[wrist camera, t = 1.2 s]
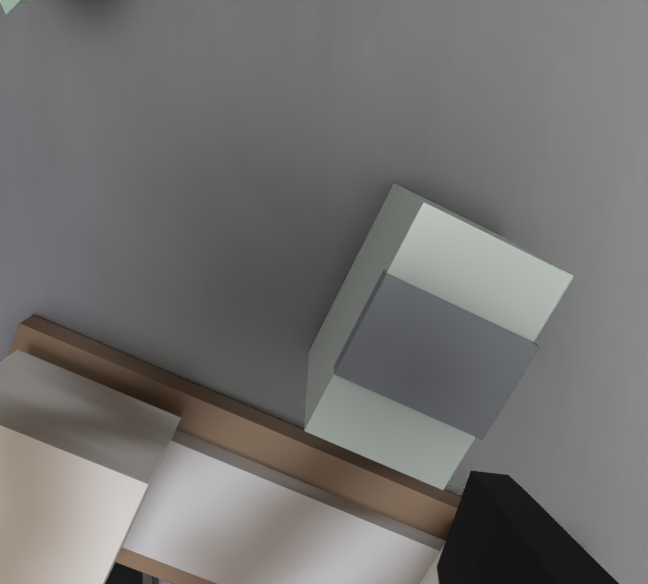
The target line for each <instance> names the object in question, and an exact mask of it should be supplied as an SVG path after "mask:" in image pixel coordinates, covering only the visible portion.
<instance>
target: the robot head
mask: <svg viewBox="0 0 648 584" xmlns="http://www.w3.org/2000/svg"><path fill="white" fill-rule="evenodd" d="M31 1H33V0H0V3H1V5H2V7H3V9H4V11H5V13H6V14H8V13H10V12H12V11H14V10H16V9H18V8H19V7H21V6H23V5H25V4H27V3H29V2H31Z"/></svg>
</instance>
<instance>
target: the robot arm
mask: <svg viewBox="0 0 648 584" xmlns="http://www.w3.org/2000/svg"><path fill="white" fill-rule="evenodd" d="M437 573H438V580H439V584H619V583H618V582H617V581H616V580H615V579H614V578H613V577H612V576H611V575H610V574H608V573H607V572H606V571H605V570H604V569H603V568H602V567H601V566H600V565H599V564H598V563H597V562H596V561H595V560H594V559H593V558H592V557H591V556H590V555H589V554H588V553H587V552H586V551H585V550H584V549H583V548H582V547H581V546H580V545H579V544H578V543H577V542H576V541H575V540H574V539H573V538H572V537H571V536H570V535H569V534H568V533H567V532H566V531H565V530H564V529H563V528H562V527H561V526H560V525H559V524H558V523H557V522H556V521H555V520H554V519H553V518H552V517H551V516H550V515H549V514H548V513H547V512H546V511H545V510H544V509H543V508H542V507H541V506H540V505H539V504H538V503H537V502H536V501H535V500H534V499H533V498H532V497H531V496H530V495H529V494H528V493H527V492H526V491H525V490H524V489H523V488H522V487H521V486H520V485H518V484H517V483H516V482H515V481H514V480H513V479H512V478H511V477H510V476H508V475H503V474H494V473H486V472H477V471H471V472H470V475H469V478H468V481H467V483H466V486H465V489H464V492H463V494H462V497H461V500H460V503H459V506H458V508H457V511H456V514H455V517H454V520H453V522H452V525H451V528H450V531H449V533H448V536H447V539H446V542H445V545H444V547H443V550H442V553H441V556H440V559H439V561H438V564H437Z"/></svg>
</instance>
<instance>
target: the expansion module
mask: <svg viewBox="0 0 648 584" xmlns="http://www.w3.org/2000/svg"><path fill="white" fill-rule="evenodd" d="M573 277H574V276H573V275H571V274H569V273H567V272H566V271H564V270H562V269H560V268H558V267H557V266H555V265H553V264H551V263H549V262H548V261H546V260H544V259H542V258H540V257H539V256H537V255H535V254H533V253H531V252H530V251H528V250H526V249H524V248H522V247H521V246H519V245H517V244H515V243H513V242H512V241H510V240H508V239H506V238H504V237H502V236H500V235H498V234H496V233H494V232H492V231H490V230H488V229H486V228H484V227H482V226H480V225H478V224H476V223H474V222H472V221H470V220H468V219H466V218H464V217H462V216H460V215H458V214H456V213H454V212H452V211H450V210H448V209H446V208H444V207H442V206H440V205H438V204H436V203H434V202H432V201H430V200H428V199H426V198H423V197H421V196H419V195H417V194H415V193H413V192H411V191H409V190H407V189H405V188H403V187H401V186H399V185H397V184H395V183H394V184H393V186H392V188H391V190H390V192H389V194H388V196H387V198H386V200H385V202H384V204H383V206H382V208H381V210H380V212H379V214H378V215H377V217H376V219H375V221H374V223H373V225H372V227H371V229H370V231H369V233H368V235H367V237H366V239H365V241H364V243H363V245H362V247H361V249H360V251H359V253H358V255H357V257H356V259H355V261H354V263H353V265H352V267H351V269H350V271H349V273H348V275H347V277H346V279H345V281H344V283H343V285H342V287H341V289H340V291H339V293H338V295H337V297H336V299H335V301H334V303H333V305H332V307H331V309H330V311H329V313H328V315H327V317H326V319H325V321H324V323H323V325H322V327H321V329H320V331H319V333H318V335H317V337H316V339H315V341H314V343H313V345H312V347H311V349H310V351H309V353H308V371H307V389H306V407H305V426H304V431H305V432H308V433H310V434H312V435H315V436H317V437H319V438H322V439H324V440H326V441H329V442H331V443H334V444H336V445H338V446H341V447H343V448H345V449H348V450H350V451H352V452H355V453H357V454H359V455H362V456H364V457H366V458H369V459H371V460H373V461H376V462H378V463H380V464H383V465H385V466H387V467H390V468H392V469H395V470H397V471H399V472H402V473H404V474H406V475H409V476H411V477H413V478H416V479H418V480H420V481H423V482H425V483H427V484H430V485H432V486H434V487H437V488H439V489H441V490H444V488H445V486H446V485H447V483H448V482H449V480H450V478H451V477H452V475H453V473H454V472H455V470H456V468H457V467H458V465H459V464H460V462H461V460H462V459H463V457H464V455H465V454H466V452H467V450H468V449H469V447H470V446H471V444H472V442H473V441H474V439H475V437H477V438H479V439H481V440H483V438H484V436H485V435H486V433H487V431H488V430H489V428H490V427H491V425H492V423H493V422H494V420H495V418H496V417H497V415H498V414H499V412H500V410H501V409H502V407H503V405H504V404H505V402H506V401H507V399H508V397H509V396H510V394H511V392H512V391H513V389H514V388H515V386H516V384H517V383H518V381H519V379H520V378H521V376H522V375H523V373H524V371H525V370H526V368H527V366H528V365H529V363H530V362H531V360H532V358H533V357H534V355H535V353H536V352H537V350H538V349H539V346H538V345H537V344H536V343H535V342H534V341H535V339H536V338H537V336H538V334H539V333H540V331H541V329H542V328H543V326H544V324H545V323H546V321H547V320H548V318H549V316H550V315H551V313H552V311H553V310H554V308H555V306H556V305H557V303H558V302H559V300H560V298H561V297H562V295H563V293H564V292H565V290H566V288H567V287H568V285H569V284H570V282H571V280H572V279H573Z"/></svg>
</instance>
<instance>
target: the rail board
mask: <svg viewBox="0 0 648 584" xmlns="http://www.w3.org/2000/svg"><path fill="white" fill-rule="evenodd" d="M460 500H461V497H460V496H457V495H455V494H453V493H450V492H448V491H446V490H441V489H439V488H437V487H434V486H432V485H430V484H427V483H425V482H423V481H420V480H418V479H416V478H413V477H411V476H409V475H406V474H404V473H402V472H399V471H397V470H395V469H392V468H390V467H387V466H385V465H383V464H380V463H378V462H376V461H373V460H371V459H369V458H366V457H364V456H362V455H359V454H357V453H355V452H352V451H350V450H348V449H345V448H343V447H341V446H338V445H336V444H334V443H331V442H329V441H326V440H324V439H322V438H319V437H317V436H315V435H312V434H310V433H308V432H305V431H304V430H303V429H300V428H298V427H296V426H293V425H291V424H288V423H286V422H284V421H281V420H279V419H277V418H274V417H272V416H270V415H267V414H265V413H263V412H260V411H258V410H256V409H253V408H251V407H249V406H246V405H244V404H242V403H239V402H237V401H235V400H232V399H230V398H227V397H225V396H223V395H220V394H218V393H216V392H213V391H211V390H209V389H206V388H204V387H202V386H199V385H197V384H195V383H192V382H190V381H188V380H185V379H183V378H181V377H178V376H176V375H174V374H171V373H169V372H166V371H164V370H162V369H159V368H157V367H155V366H152V365H150V364H148V363H145V362H143V361H141V360H138V359H136V358H134V357H131V356H129V355H127V354H124V353H122V352H120V351H117V350H115V349H113V348H110V347H108V346H105V345H103V344H101V343H98V342H96V341H94V340H91V339H89V338H87V337H84V336H82V335H80V334H77V333H75V332H73V331H70V330H68V329H66V328H63V327H61V326H59V325H56V324H54V323H52V322H49V321H47V320H44V319H42V318H40V317H37V316H35V315H32V316H31V317H29V318H28V319H26V320H24V321H23V322H21V323H20V324H19V327H18V329H17V332H16V335H15V338H14V341H13V343H12V346H11V349H10V352H9V355H8V356H7V357H6V358H4V359H3V360H2V361H0V584H105V583H106V581H107V579H108V577H109V574H110V572H111V570H112V568H113V566H114V564H115V562H117V563H119V564H122V565H125V566H127V567H130V568H133V569H135V570H138V571H141V572H143V573H146V574H149V575H151V576H154V577H156V578H159V579H162V580H164V581H167V582H170V583H172V584H439V580H438V573H437V564H438V561H439V559H440V556H441V553H442V550H443V547H444V545H445V542H446V539H447V536H448V533H449V531H450V528H451V525H452V522H453V520H454V517H455V514H456V511H457V508H458V506H459V503H460Z"/></svg>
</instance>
